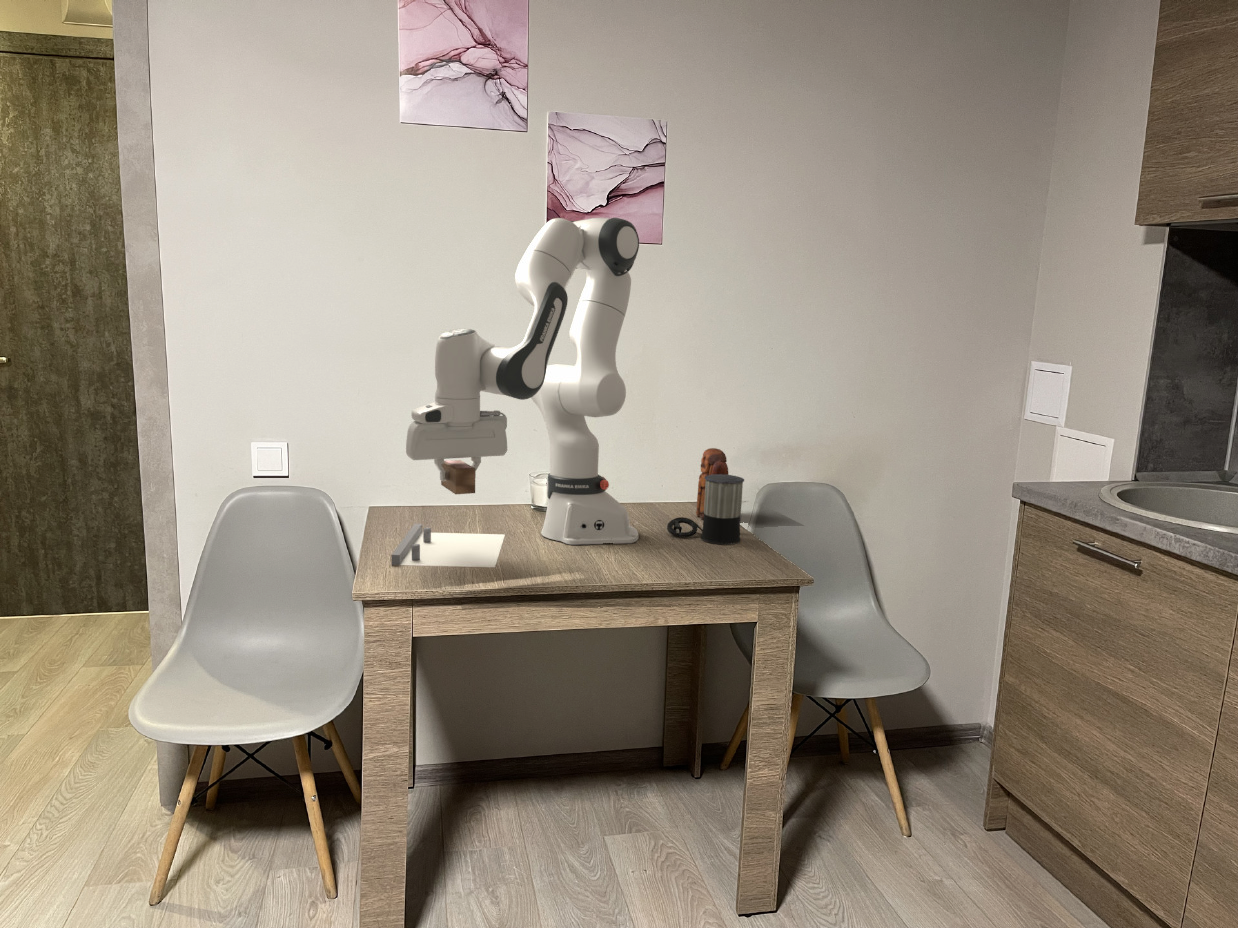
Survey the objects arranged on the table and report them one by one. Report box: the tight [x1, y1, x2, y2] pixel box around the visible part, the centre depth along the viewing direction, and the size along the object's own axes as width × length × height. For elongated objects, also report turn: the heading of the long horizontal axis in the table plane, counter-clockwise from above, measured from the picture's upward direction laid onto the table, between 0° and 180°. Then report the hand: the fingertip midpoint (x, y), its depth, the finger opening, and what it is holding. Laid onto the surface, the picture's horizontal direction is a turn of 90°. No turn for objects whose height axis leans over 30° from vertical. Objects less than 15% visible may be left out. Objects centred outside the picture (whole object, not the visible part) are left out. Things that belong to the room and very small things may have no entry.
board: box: [390, 522, 506, 568], centre depth 188 cm, size 20×26×4 cm
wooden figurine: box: [695, 447, 729, 521], centre depth 230 cm, size 12×6×18 cm, turn 14°
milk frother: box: [666, 474, 745, 545], centre depth 209 cm, size 14×16×15 cm
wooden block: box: [440, 459, 476, 495], centre depth 182 cm, size 4×10×5 cm, turn 27°
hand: (457, 479), depth 182 cm, fingers closed on wooden block, 4 cm apart
